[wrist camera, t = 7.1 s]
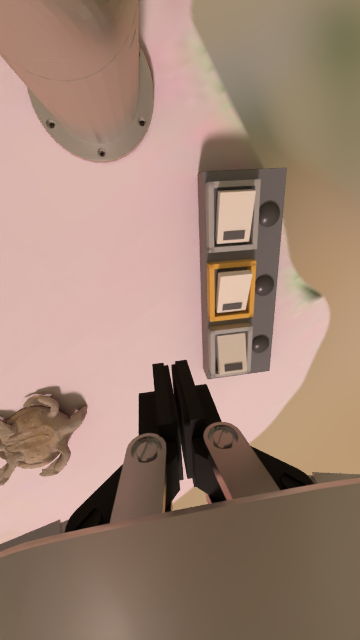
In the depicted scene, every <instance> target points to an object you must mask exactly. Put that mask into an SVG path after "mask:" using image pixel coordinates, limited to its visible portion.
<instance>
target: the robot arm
mask: <svg viewBox="0 0 360 640" xmlns="http://www.w3.org/2000/svg"><path fill="white" fill-rule="evenodd" d="M0 56H1V57H2V58H3V59H4V60H5V61H6V63H7V64H8V65H9V66H10V67H11V68H12V69H13V71H14V72H15V73H16V74H17V75H18V76H19V78H20V79H21V80H22V81H23V82H24V83H25V84H26V86H27V89H28V93H29V96H30V100H31V103H32V106H33V108H34V110H35V112H36V114H37V117H38V119H39V120H40V122H41V123H42V125H43V126H44V128H45V129H46V131H47V132H48V133H49V134H50V135H51V137H52V138H53V139H54V140H55V141H56V142H57V143H58V144H59V145H61V146H62V147H63V148H64V149H66V150H67V151H69V152H70V153H72V154H73V155H75V156H77V157H79V158H82V159H84V160H88V161H92V162H111V161H116V160H119V159H121V158H123V157H125V156H127V155H128V154H130V153H131V152H132V151H133V150H135V149H136V147H137V146H138V145H139V144H140V143H141V142H142V140H143V138H144V136H145V135H146V133H147V131H148V128H149V125H150V122H151V118H152V113H153V104H154V91H153V81H152V77H151V72H150V68H149V65H148V63H147V60H146V58H145V55H144V53H143V51H142V49H141V48H140V46H139V0H0ZM140 122H144V126H141V125H140ZM51 124H54V125H55V127H54V128H51ZM101 152H104V153H105V155H104V156H103V157H102V156H101V155H100V153H101ZM152 366H153V377H154V389H155V391H153V392H146V393H139V436H137V437H136V438H134V439H133V440H132V441H131V442H130V443H129V445H128V447H127V450H126V454H125V459H124V463H123V465H122V466H121V467H120V468H119V469H118V470H116V471H115V472H114V473H113V474H112V475H111V476H110V477H109V478H108V479H107V480H106V481H105V482H104V483H103V484H102V485H101V486H100V487H99V488H98V489H97V490H96V491H95V492H94V493H93V494H92V495H91V496H90V497H89V498H88V499H87V500H86V501H85V502H84V503H83V504H82V505H81V506H80V507H79V508H78V509H77V510H76V511H75V512H74V513H73V515H72V516H71V517H70V519H69V520H67V521H64V522H62V523H61V521H60V520H58V521H55V522H53V523H50V524H48V525H46V526H43V527H41V528H38V529H36V530H34V531H31V532H29V533H26V534H24V535H22V536H19V537H17V538H15V539H12V540H10V541H7V542H5V543H3V544H0V640H360V475H359V474H337V473H317V472H313V473H312V476H310V475H306V474H305V473H304V472H302V471H301V470H299V469H297V468H295V467H293V466H290V465H289V464H287V463H285V462H282V461H280V460H278V459H276V458H274V457H272V456H270V455H268V454H266V453H264V452H262V451H260V450H258V449H256V448H254V447H252V446H250V445H249V443H248V442H247V440H246V439H245V437H244V436H243V434H242V433H241V431H240V430H239V429H238V428H237V427H236V426H234V425H232V424H230V423H227V422H221V419H220V417H219V414H218V412H217V409H216V407H215V404H214V402H213V399H212V397H211V394H210V392H209V389H208V387H207V385H206V384H203V385H196V386H195V384H194V381H193V378H192V375H191V372H190V369H189V366H188V363H187V360H181V361H175V364H173V365H171V366H172V378H173V388H172V383H171V378H170V372H169V367H168V365H166V366H164V363H158V364H152ZM173 390H174V393H173ZM181 446H182V452H183V457H184V463H185V468H186V474H187V478H188V479H190V478H192V479H193V484H194V487H198V488H199V489H201V490H202V491H204V492H205V495H206V500H207V502H208V504H206V505H201V506H196V507H190V508H186V509H181V510H175V511H172V509H173V505H172V500H173V499H174V497H175V496H176V495H177V493H178V492H179V491H180V483H179V480H183V467H182V454H181Z"/></svg>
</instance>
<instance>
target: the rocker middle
mask: <svg viewBox="0 0 360 640" xmlns="http://www.w3.org/2000/svg"><path fill="white" fill-rule="evenodd" d="M251 279H252V272H251V271H250V270H242V271H231V272H220V273H218V283H217V293H216V303H215V310H216V312H217V313H223V312H232V311H241V310H246V305H247V300H248V295H249V290H250V285H251Z"/></svg>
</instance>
